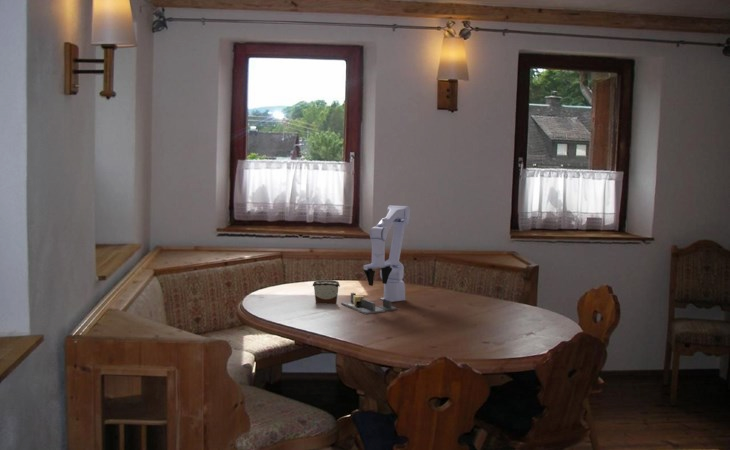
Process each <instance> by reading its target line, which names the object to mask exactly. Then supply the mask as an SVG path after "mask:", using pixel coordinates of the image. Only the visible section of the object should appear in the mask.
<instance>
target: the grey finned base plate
mask: <svg viewBox="0 0 730 450" xmlns="http://www.w3.org/2000/svg"><path fill="white" fill-rule="evenodd" d="M377 307H379V308H382V309H384V310H385V312H391V311H397V310H398V308H397V307H396V306H393V305H392V302H391V301H390V300H387V299H383V300H382V305H377Z"/></svg>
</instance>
